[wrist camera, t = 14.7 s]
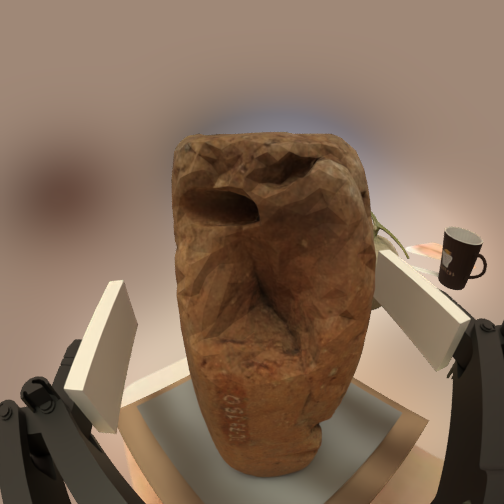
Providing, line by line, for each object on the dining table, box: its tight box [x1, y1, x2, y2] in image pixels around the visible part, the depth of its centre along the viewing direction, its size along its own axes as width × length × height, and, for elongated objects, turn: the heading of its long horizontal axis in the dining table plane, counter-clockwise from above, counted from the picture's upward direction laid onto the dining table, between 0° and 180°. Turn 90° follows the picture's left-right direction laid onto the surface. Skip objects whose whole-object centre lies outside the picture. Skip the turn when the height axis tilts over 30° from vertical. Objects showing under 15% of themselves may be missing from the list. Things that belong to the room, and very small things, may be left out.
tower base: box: [117, 375, 428, 504], centre depth 20 cm, size 22×22×6 cm
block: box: [172, 132, 376, 477], centre depth 14 cm, size 11×8×20 cm
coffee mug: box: [438, 227, 487, 290], centre depth 41 cm, size 12×9×10 cm
